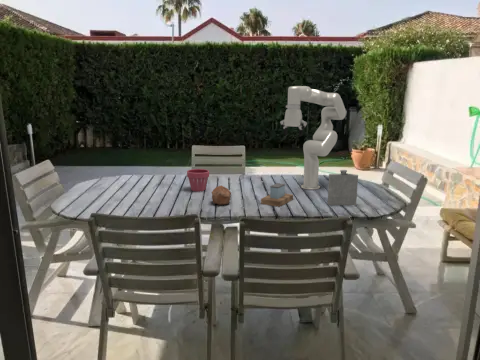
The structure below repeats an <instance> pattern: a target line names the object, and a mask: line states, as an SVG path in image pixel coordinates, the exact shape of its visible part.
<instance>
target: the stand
mask: <svg viewBox="0 0 480 360" xmlns="http://www.w3.org/2000/svg"><path fill="white" fill-rule="evenodd" d="M293 200H294V194H292V193H286V192H285V196H283V197H281V198H279V199H275V198H270V194H268V195H266V196H263V197H261V198H260V204H261V205H267V206H272V207H277V206H278V207H279V208H280V206H281V207H282V206H284V205H286V204H288V203H289V202H291V201H293Z"/></svg>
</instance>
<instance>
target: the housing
mask: <svg viewBox="0 0 480 360" xmlns="http://www.w3.org/2000/svg"><path fill="white" fill-rule="evenodd" d="M269 189H270V190H269V195H270V198H275V199H279V198H281V197H283V196H285V193H286V184H285V183H280V182H279V183H278V182H277V183H274V184H272V185H270V186H269Z"/></svg>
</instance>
